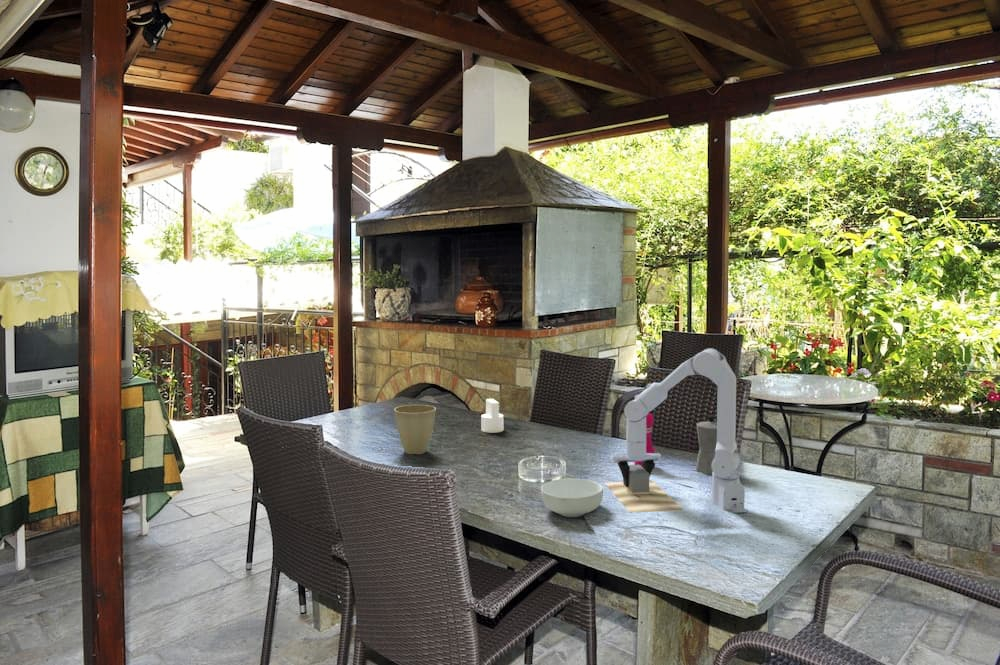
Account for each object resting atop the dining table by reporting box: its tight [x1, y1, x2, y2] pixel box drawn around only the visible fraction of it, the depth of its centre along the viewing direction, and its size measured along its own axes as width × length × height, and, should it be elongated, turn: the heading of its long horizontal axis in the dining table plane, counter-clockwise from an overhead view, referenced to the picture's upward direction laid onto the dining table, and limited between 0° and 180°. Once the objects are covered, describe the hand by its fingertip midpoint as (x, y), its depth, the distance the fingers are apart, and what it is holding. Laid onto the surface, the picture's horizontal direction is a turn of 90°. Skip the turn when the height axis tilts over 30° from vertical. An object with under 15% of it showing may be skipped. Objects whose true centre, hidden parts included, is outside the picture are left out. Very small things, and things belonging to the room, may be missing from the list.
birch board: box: [604, 479, 684, 513], centre depth 205 cm, size 26×15×1 cm, turn 7°
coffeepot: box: [695, 415, 717, 475], centre depth 230 cm, size 15×9×18 cm, turn 14°
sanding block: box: [622, 464, 650, 495], centre depth 209 cm, size 9×5×6 cm, turn 7°
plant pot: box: [393, 404, 437, 455], centre depth 256 cm, size 15×15×16 cm
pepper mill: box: [633, 412, 656, 467], centre depth 235 cm, size 7×7×20 cm
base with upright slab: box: [480, 398, 505, 434], centre depth 289 cm, size 9×9×12 cm
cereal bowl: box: [540, 478, 604, 518], centre depth 195 cm, size 17×17×7 cm
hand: (635, 485), depth 210 cm, fingers closed on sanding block, 5 cm apart
